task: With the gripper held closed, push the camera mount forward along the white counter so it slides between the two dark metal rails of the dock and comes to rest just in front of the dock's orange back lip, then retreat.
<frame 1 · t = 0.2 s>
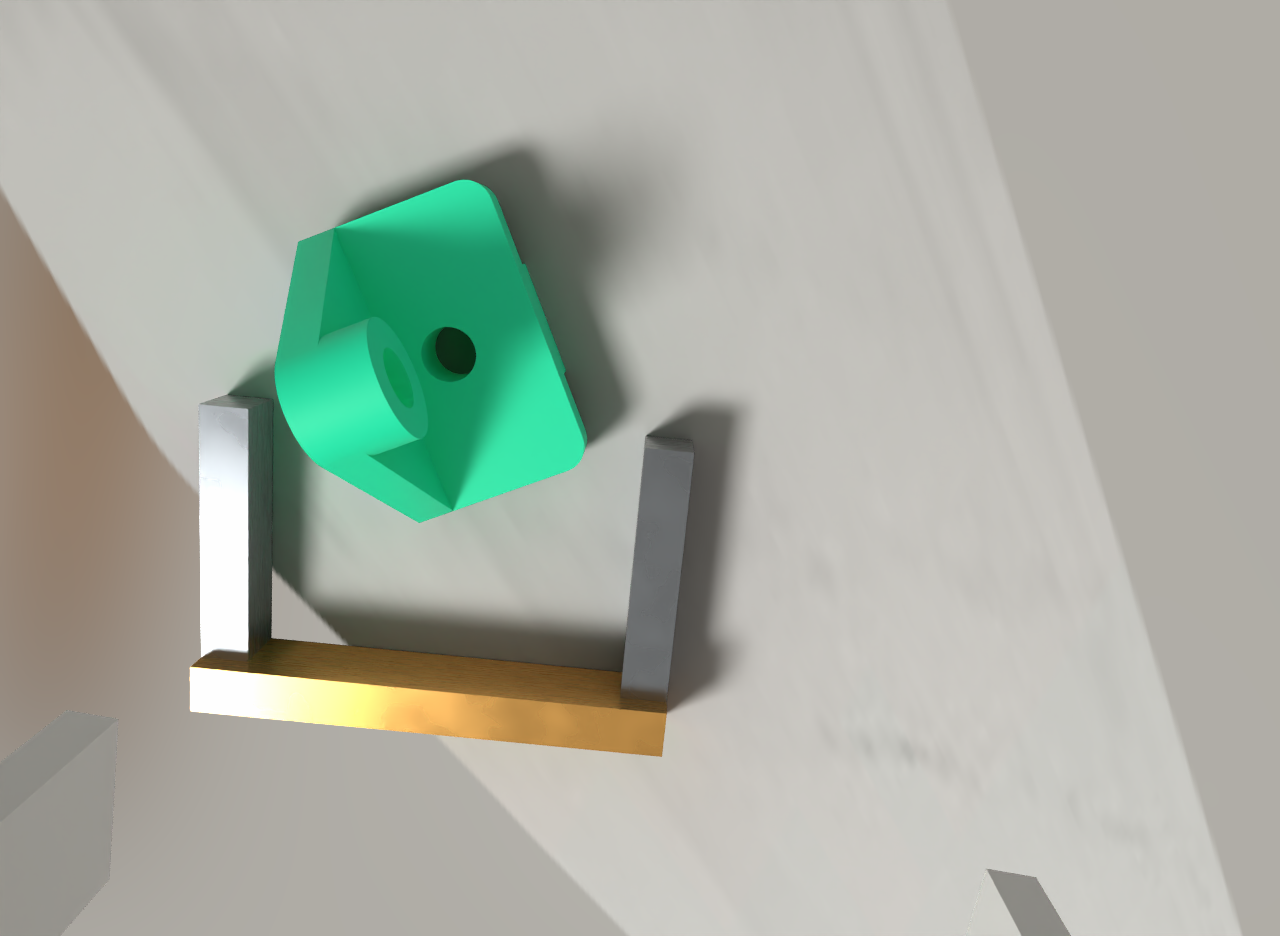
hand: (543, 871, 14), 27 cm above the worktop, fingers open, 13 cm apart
dock: (452, 550, 42), on the worktop
camera mount: (463, 347, 40), on the worktop
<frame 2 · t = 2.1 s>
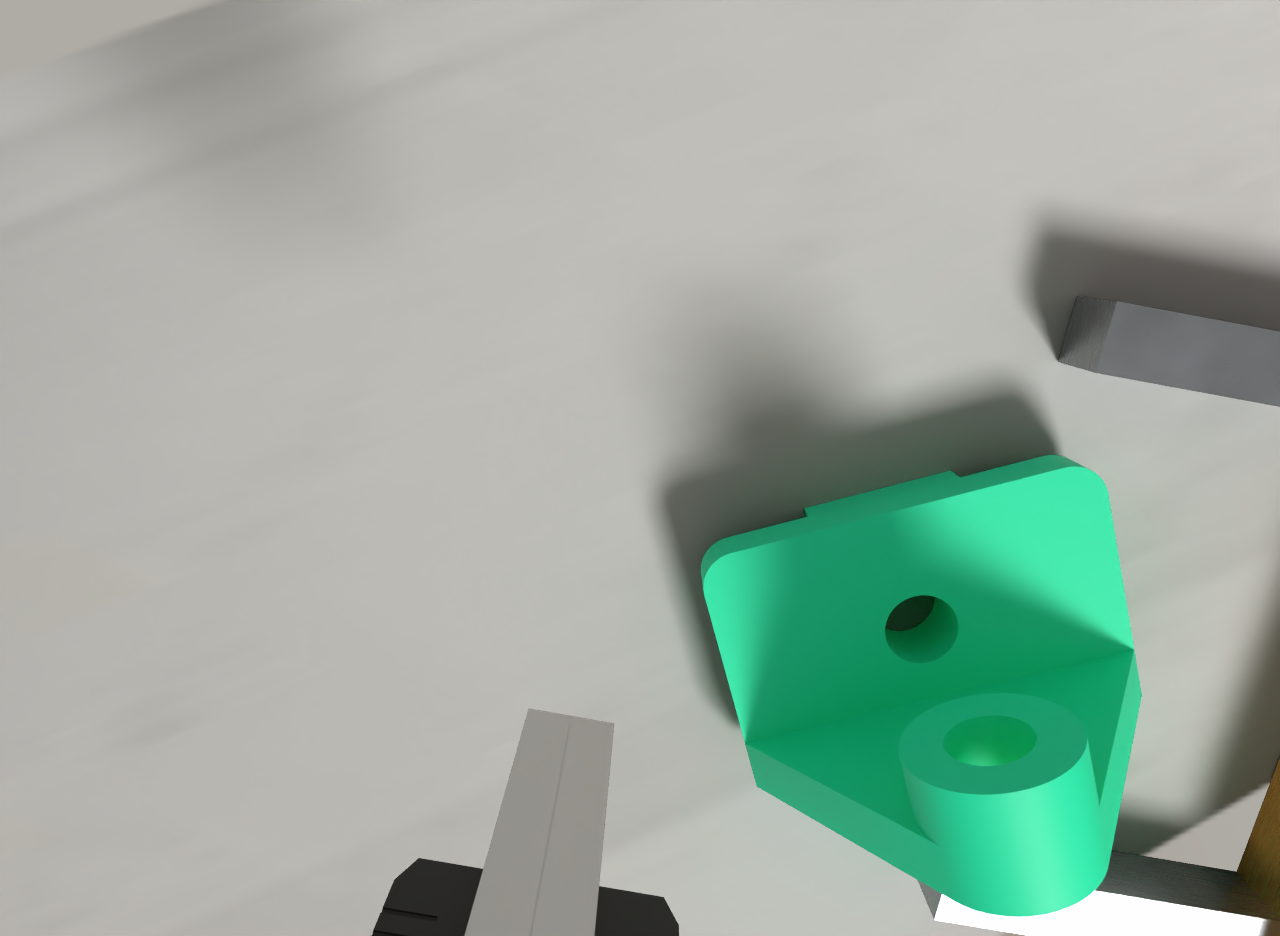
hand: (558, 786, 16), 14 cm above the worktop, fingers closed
dock: (1168, 636, 31), on the worktop
camera mount: (897, 595, 31), on the worktop
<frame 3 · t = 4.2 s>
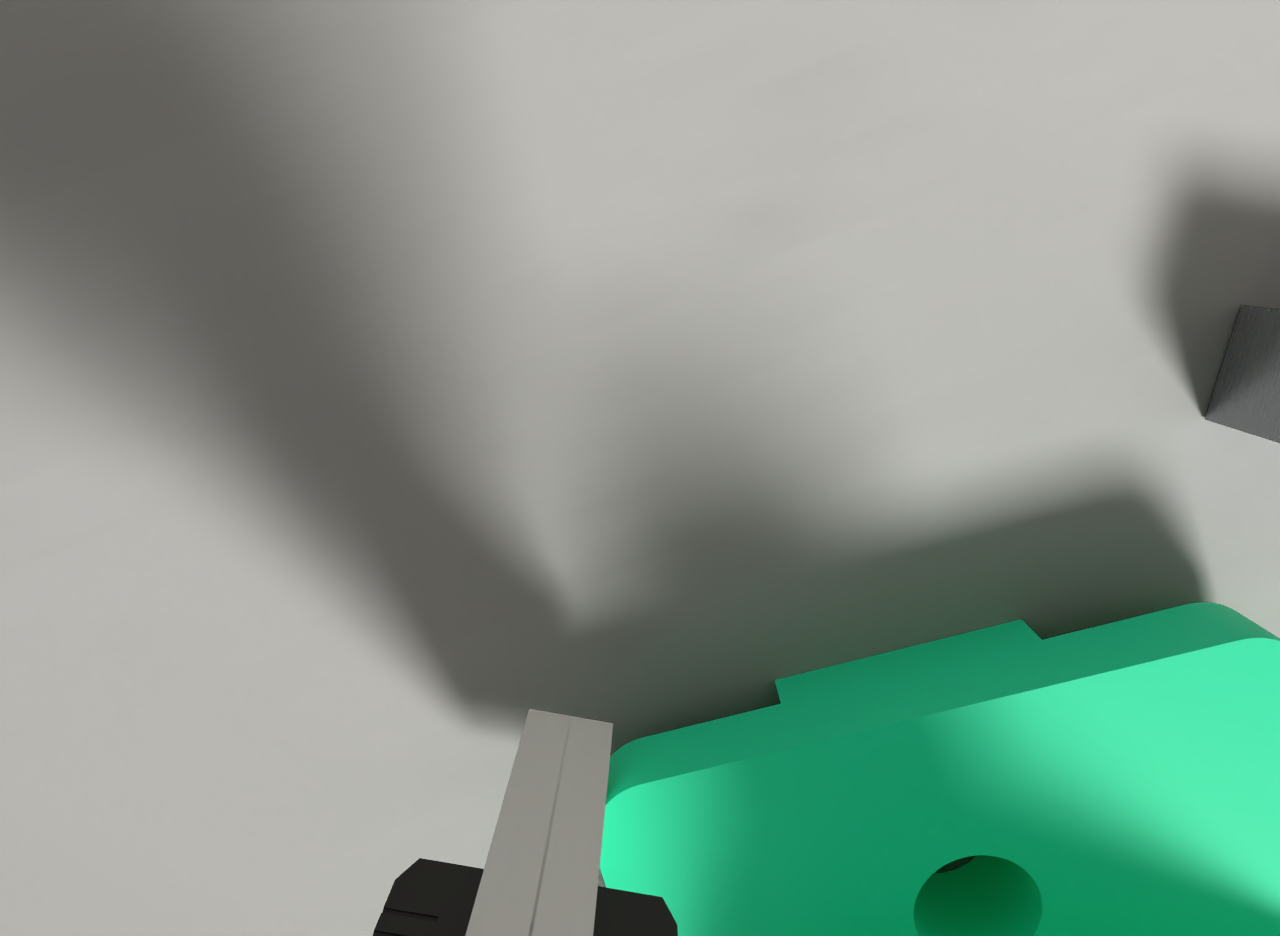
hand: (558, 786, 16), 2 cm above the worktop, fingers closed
camera mount: (930, 814, 19), on the worktop, touching gripper
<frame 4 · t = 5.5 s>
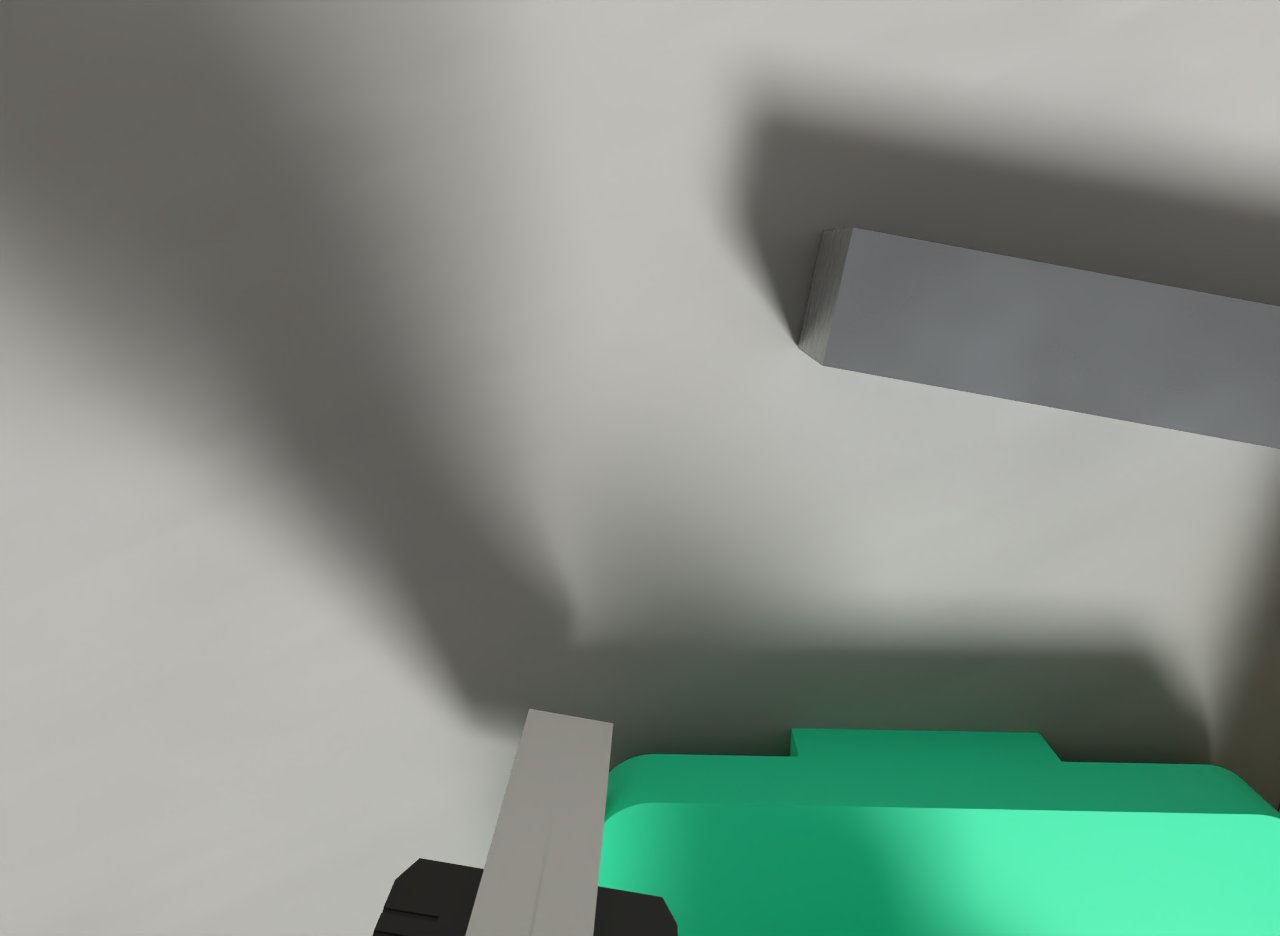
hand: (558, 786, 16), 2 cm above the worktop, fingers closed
dock: (1012, 810, 18), on the worktop
camera mount: (895, 895, 19), on the worktop, touching gripper
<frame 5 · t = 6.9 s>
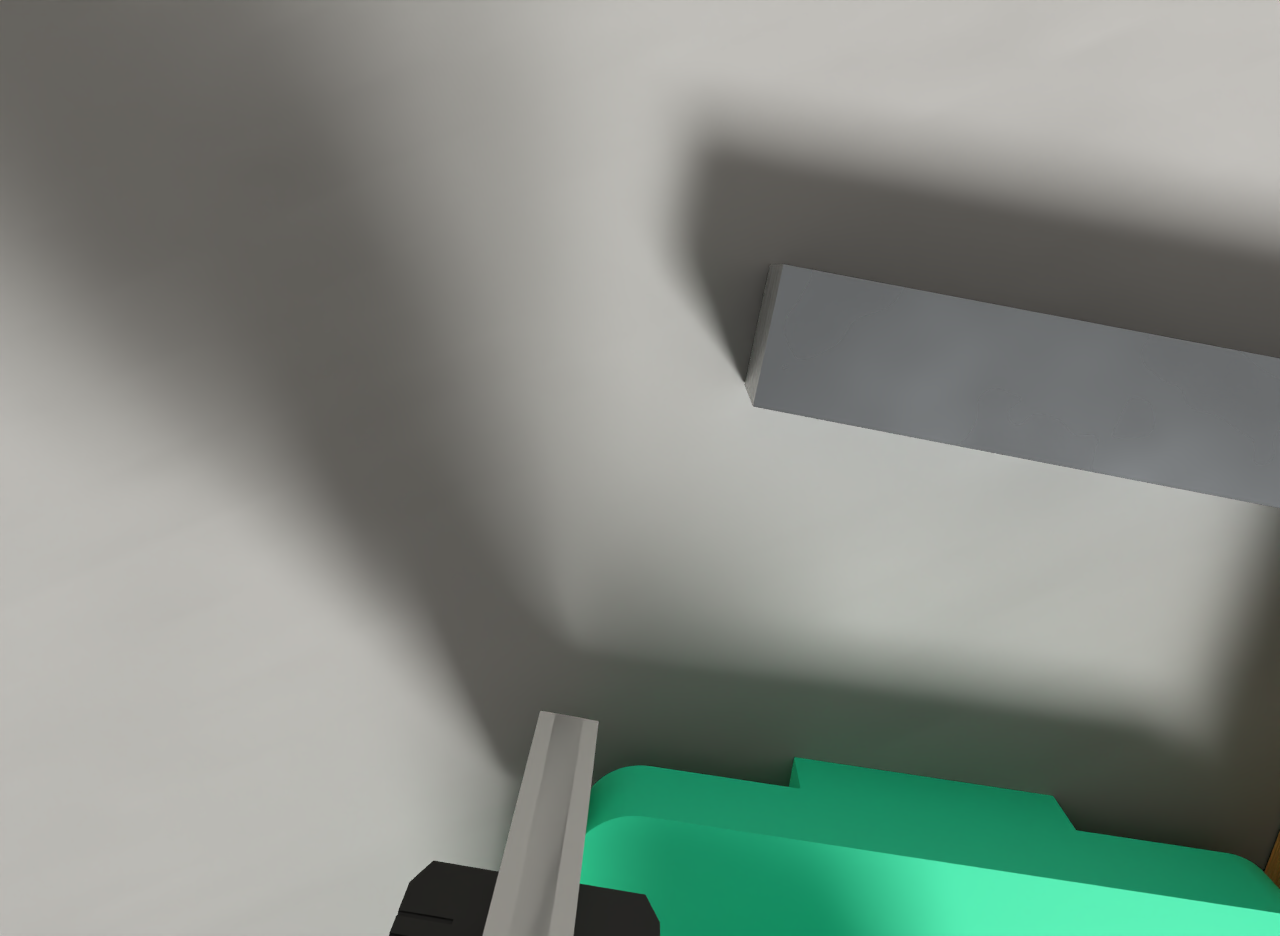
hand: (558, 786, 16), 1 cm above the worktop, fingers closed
dock: (974, 870, 17), on the worktop
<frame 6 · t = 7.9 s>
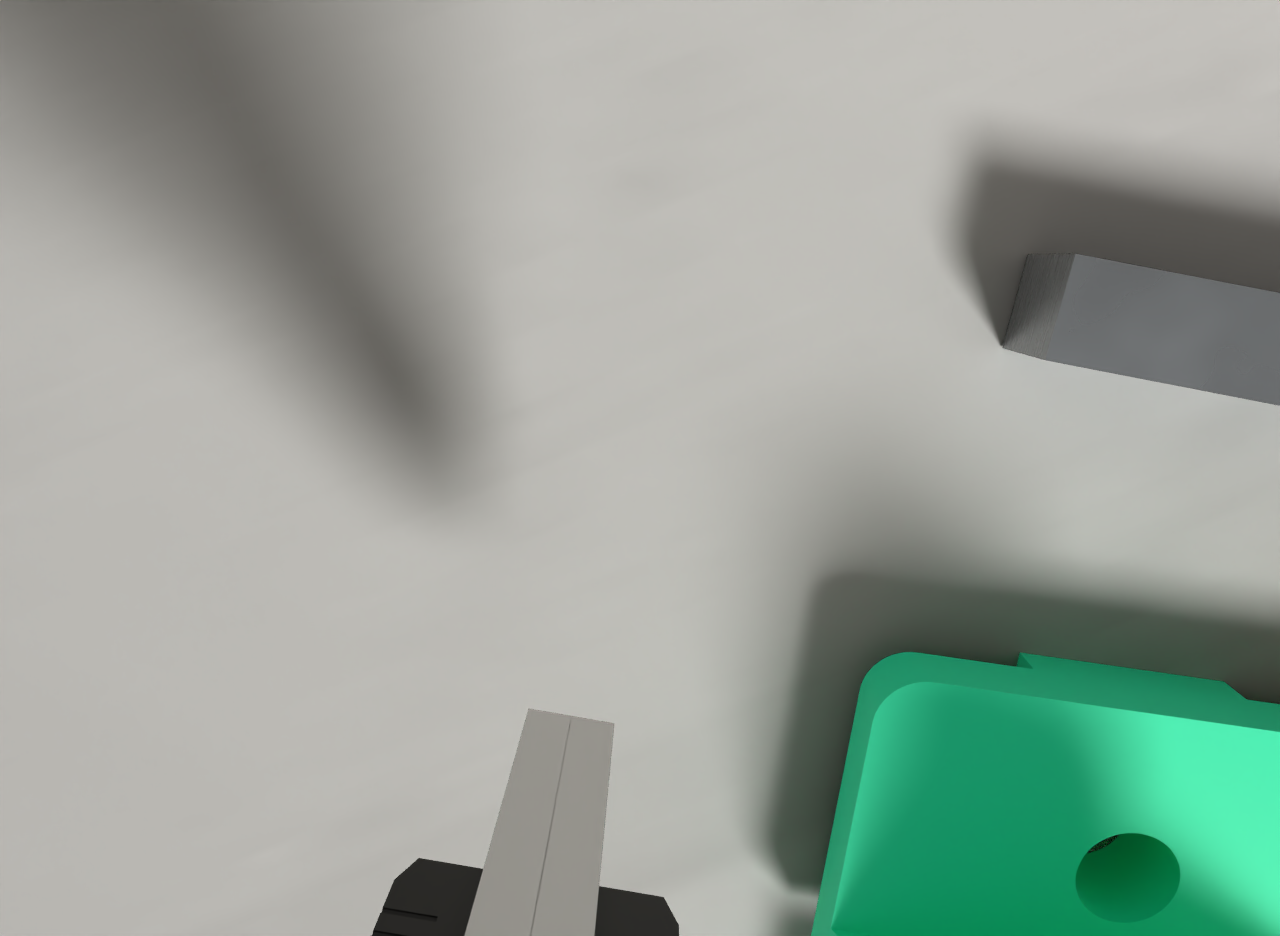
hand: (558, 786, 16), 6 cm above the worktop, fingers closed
dock: (1162, 734, 22), on the worktop
camera mount: (1075, 804, 23), on the worktop
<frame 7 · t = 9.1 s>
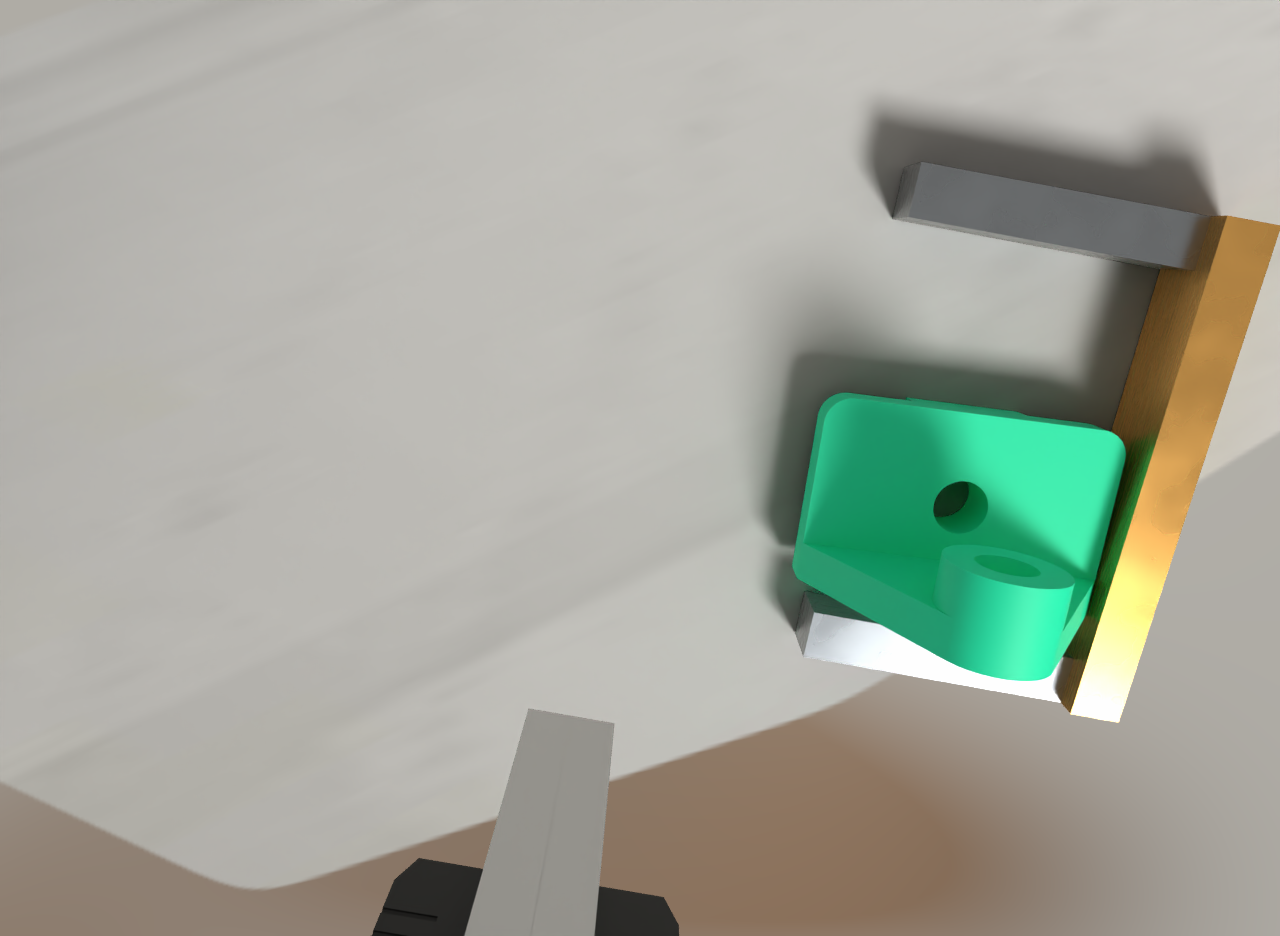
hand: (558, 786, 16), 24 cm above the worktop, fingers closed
dock: (986, 439, 40), on the worktop
camera mount: (940, 490, 40), on the worktop
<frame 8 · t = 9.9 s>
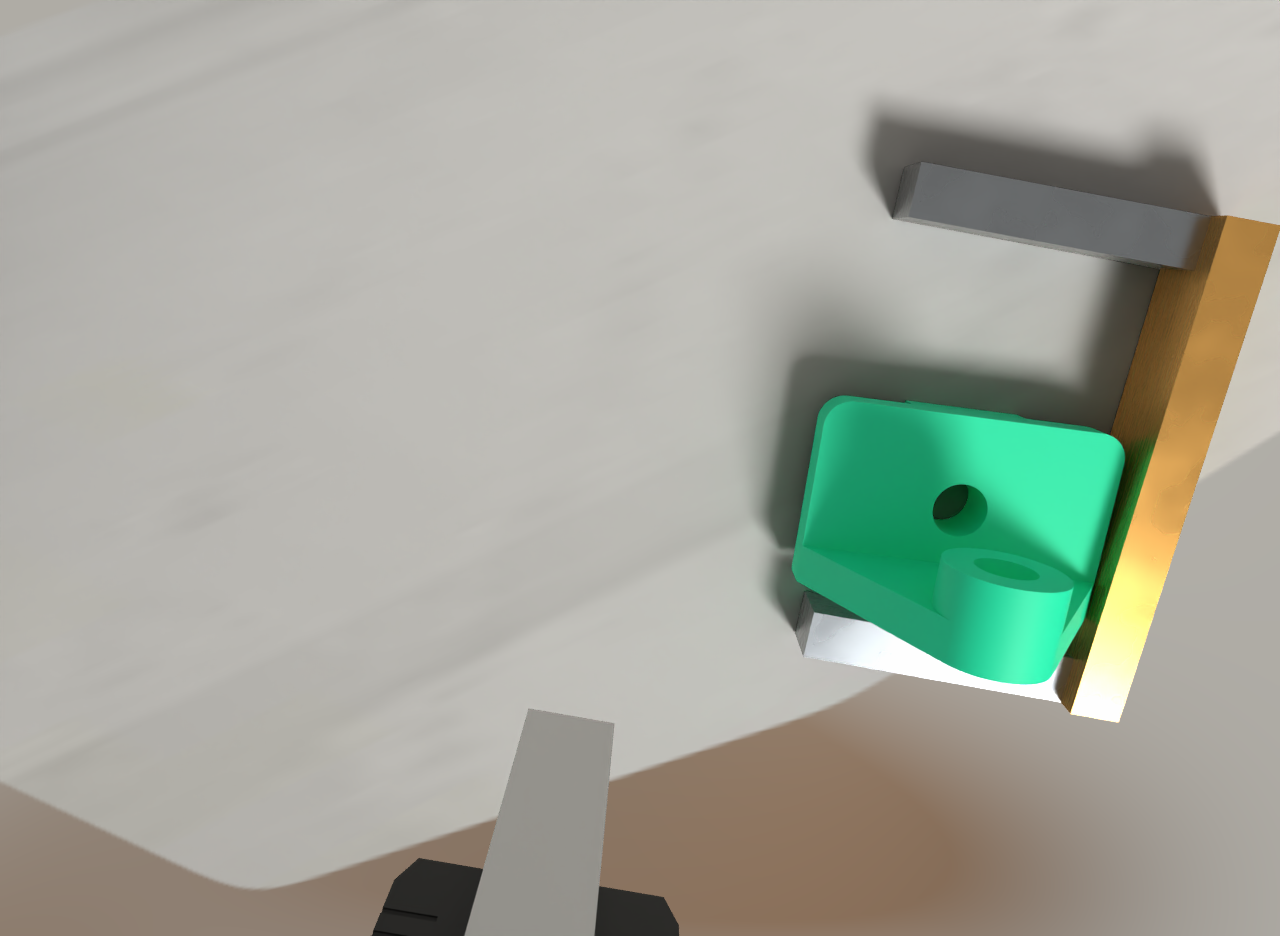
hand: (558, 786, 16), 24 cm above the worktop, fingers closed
dock: (986, 439, 40), on the worktop
camera mount: (939, 492, 41), on the worktop
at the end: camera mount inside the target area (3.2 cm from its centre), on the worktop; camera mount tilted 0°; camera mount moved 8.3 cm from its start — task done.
